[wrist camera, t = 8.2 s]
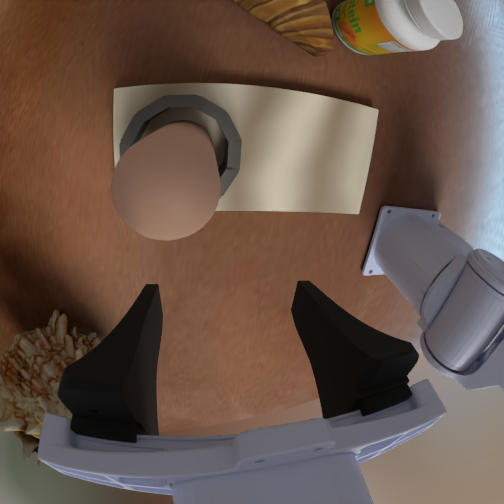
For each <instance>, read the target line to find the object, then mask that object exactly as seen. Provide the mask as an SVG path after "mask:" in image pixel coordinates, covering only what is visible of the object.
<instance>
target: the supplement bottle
mask: <svg viewBox="0 0 504 504" xmlns="http://www.w3.org/2000/svg"><path fill="white" fill-rule="evenodd" d="M332 25H333V28H334V31H335V33H336V35H337V36H338V38H339V39H340V40H341V42H342V43H343V44H344V45H345V46H347V47H348V48H349V49H351V50H352V51H354V52H357V53H359V54H363V55H377V54H386V53H395V52H407V51H422V50H429V49H432V48H434V47H435V46H436V45H437V44H438V43H439V41H440V40H454V39H457V38H459V37H460V36H461V34H462V31H463V21H462V17H461V14H460V11H459V9H458V7H457V5H456V3H455V2H454V0H346V1H344V2H342V3H340V4H339V5H338V6H337V7H336V8H335V9H334V11H333V14H332Z"/></svg>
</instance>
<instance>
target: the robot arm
mask: <svg viewBox="0 0 504 504" xmlns="http://www.w3.org/2000/svg"><path fill="white" fill-rule="evenodd" d="M389 210H390V211H389ZM388 211H389V212H388ZM440 216H441V214H440V213H439V212H438V211H431V210H423V209H414V208H405V207H395V206H383V207H382V208H381V210H380V213H379V217H378V220H377V224H376V227H375V231H374V234H373V238H372V241H371V244H370V247H369V251H368V254H367V257H366V260H365V263H364V266H363V269H362V274H363V275H365V276H368V275H380V274H385V275H386V276H387V277H388V278H389V279H390V280H391V281H392V283H393V284H394V285H395V286H396V287H397V288H398V290H399V291H400V292H401V293H402V294H403V295H404V297H405V298H406V299H407V300H408V301H409V303H410V304H411V305H412V306H413V307H414V309H415V310H416V311H417V312H418V314H419V315H420V316H421V317H420V319H419V321H418V323H417V324H418V325H419V326H420V328H421V329H422V330H423V332H422V334H421V337H420V344H421V349H422V351H423V353H424V356H425V358H426V360H427V361H428V363H429V364H430V365H431V366H432V367H433V368H434V369H435V370H436V371H438V372H439V373H441V374H443V375H446V376H448V377H450V378H452V379H454V380H455V381H457V382H458V383H459V384H461V385H462V386H463V387H464V388H465V389H466V390H477V389H483V388H488V387H494V386H499V387H500V388H502V390H503V391H504V328H503V329H502V331H501V332H500V333H499V335H498V336H497V338H496V339H495V340H494V341H493V343H492V344H491V345H490V347H489V348H488V349H487V350H486V351H485V352H483V351H484V350H485V349H486V347H487V346H488V345H489V343H490V342H491V341H492V339H493V338H494V337H495V335H496V334H497V333H498V331H499V330H500V328H501V327H502V325H503V324H504V262H503V261H502V260H501V259H499V258H498V257H496V256H495V255H493V254H492V253H490V252H488V251H486V250H483V249H476V250H474V249H473V248H472V247H471V245H470V244H468V243H467V242H466V241H465V240H463V239H462V238H461V237H459V236H458V235H457V234H455V233H454V232H453V231H451V230H450V229H449V228H447V227H446V226H445V225H443V224H442V223H441V222H439V219H440ZM291 311H292V315H293V319H294V323H295V326H296V329H297V331H298V334H299V336H300V338H301V341H302V343H303V346H304V348H305V350H306V353H307V355H308V357H309V360H310V363H311V366H312V370H313V373H314V377H315V381H316V385H317V389H318V393H319V398H320V403H321V407H322V414H323V418H316V419H310V420H305V421H300V422H295V423H289V424H283V425H278V426H270V427H263V428H257V429H252V430H247V431H245V432H242V433H240V434H233V435H218V436H190V437H189V436H187V437H185V436H184V437H183V436H180V437H179V436H159V431H158V419H157V397H156V373H157V363H158V356H159V349H160V342H161V335H162V320H163V313H162V306H161V300H160V293H159V286H158V284H146V285H145V287H144V288H143V290H142V291H141V293H140V295H139V296H138V298H137V299H136V301H135V302H134V304H133V305H132V307H131V308H130V309H129V311H128V312H127V313H126V315H125V316H124V317H123V319H122V320H121V321H120V322H119V324H118V325H117V326H116V327H115V328H114V329H113V330H112V332H111V333H110V334H109V335H108V336H107V337H106V338H105V339H104V340H103V341H101V342H100V343H99V344H98V345H97V346H96V347H95V348H93V349H92V350H91V351H90V352H88V353H87V354H86V355H84V356H83V357H81V358H80V359H78V360H77V361H75V362H74V363H72V364H70V365H69V366H67V367H65V369H64V372H63V374H62V377H61V380H60V384H59V388H58V392H57V394H58V397H59V399H60V400H61V402H62V403H63V404H64V405H65V406H66V408H67V409H68V410H69V411H70V412H71V413H72V420H70V419H68V418H66V417H63V416H58V415H54V414H50V413H45V416H44V420H43V425H42V430H41V436H40V442H39V448H38V456H37V458H38V459H39V460H40V461H42V462H44V463H45V464H47V465H49V466H51V467H52V468H54V469H56V470H58V471H59V472H61V473H63V474H65V475H69V476H72V477H76V478H79V479H84V480H87V481H91V482H95V483H99V484H104V485H108V486H113V487H118V488H123V489H128V490H134V491H141V492H148V493H157V494H167V495H173V503H174V504H373V501H372V498H371V496H370V493H369V490H368V488H367V485H366V482H365V480H364V477H363V475H362V472H361V469H360V467H359V463H362V462H364V461H366V460H369V459H371V458H373V457H375V456H378V455H380V454H382V453H384V452H386V451H388V450H390V449H392V448H394V447H396V446H398V445H400V444H402V443H404V442H406V441H408V440H409V439H411V438H413V437H415V436H417V435H419V434H420V433H422V432H424V431H425V430H426V429H427V428H429V427H430V426H431V425H432V424H434V423H435V422H436V421H437V420H438V419H440V418H441V417H442V416H443V415H444V414H445V413H446V412H447V410H446V409H445V407H444V405H443V403H442V402H441V400H440V399H439V397H438V395H437V393H436V392H435V390H434V388H433V387H432V385H431V383H430V382H429V380H428V379H425V380H423V381H421V382H418V383H416V384H414V385H412V386H411V387H410V388H409V386H408V385H407V383H408V382H409V379H408V377H407V375H408V373H409V372H410V371H411V370H412V368H413V367H414V366H415V364H416V363H417V361H418V358H419V354H418V353H417V351H416V350H415V348H414V347H413V345H412V344H411V343H410V342H407V341H404V340H400V339H397V338H394V337H392V336H389V335H387V334H384V333H382V332H380V331H378V330H376V329H374V328H372V327H370V326H368V325H366V324H365V323H363V322H361V321H360V320H358V319H356V318H355V317H353V316H352V315H350V314H349V313H348V312H346V311H345V310H344V309H342V308H341V307H340V306H338V305H337V304H336V303H335V302H333V301H332V300H331V299H330V298H329V297H327V296H326V295H325V294H324V293H323V292H322V291H320V290H319V289H318V288H317V287H316V286H315V285H314V284H312V283H311V282H310V281H298V283H297V287H296V292H295V296H294V300H293V304H292V308H291ZM482 352H483V353H482Z"/></svg>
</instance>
